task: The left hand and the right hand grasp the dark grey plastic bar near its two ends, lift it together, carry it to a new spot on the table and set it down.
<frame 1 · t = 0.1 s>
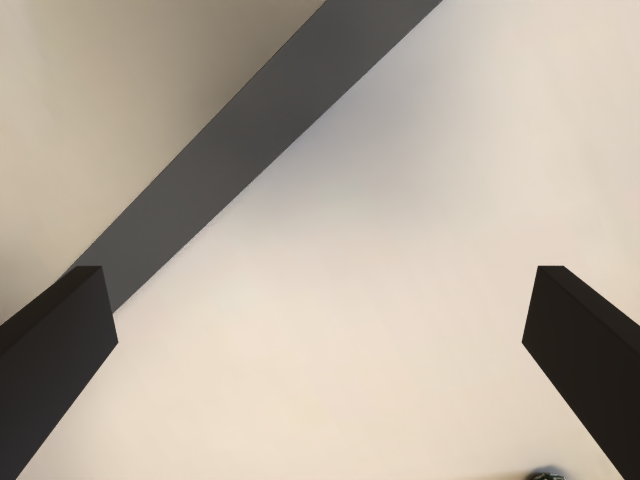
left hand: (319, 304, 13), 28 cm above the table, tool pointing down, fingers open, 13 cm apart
bar: (187, 197, 40), on the table
grenade: (541, 479, 55), on the table
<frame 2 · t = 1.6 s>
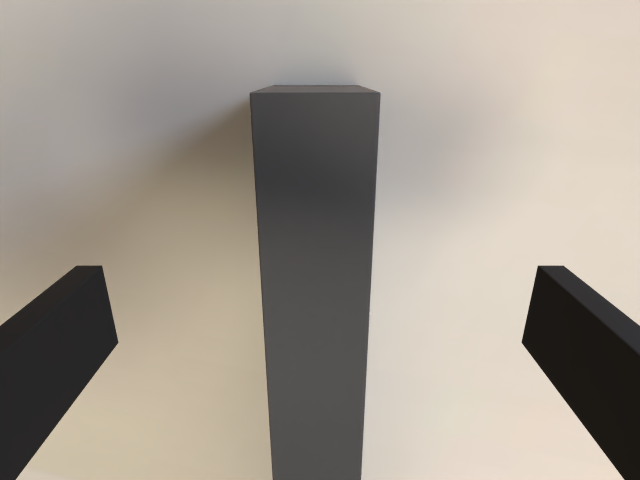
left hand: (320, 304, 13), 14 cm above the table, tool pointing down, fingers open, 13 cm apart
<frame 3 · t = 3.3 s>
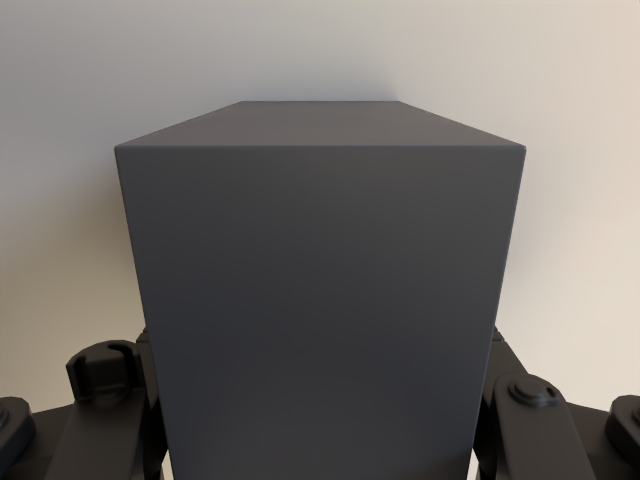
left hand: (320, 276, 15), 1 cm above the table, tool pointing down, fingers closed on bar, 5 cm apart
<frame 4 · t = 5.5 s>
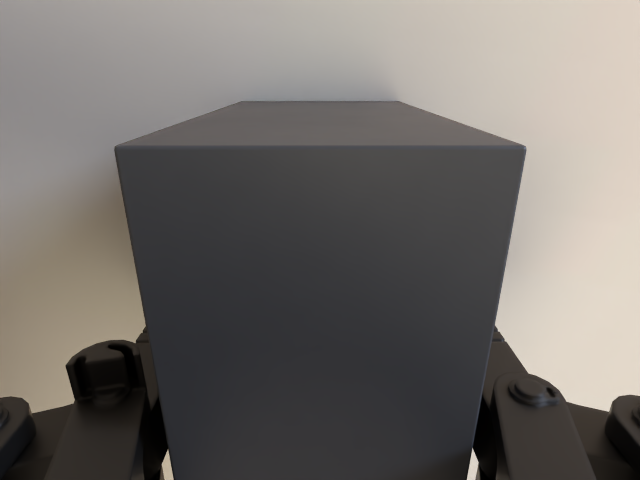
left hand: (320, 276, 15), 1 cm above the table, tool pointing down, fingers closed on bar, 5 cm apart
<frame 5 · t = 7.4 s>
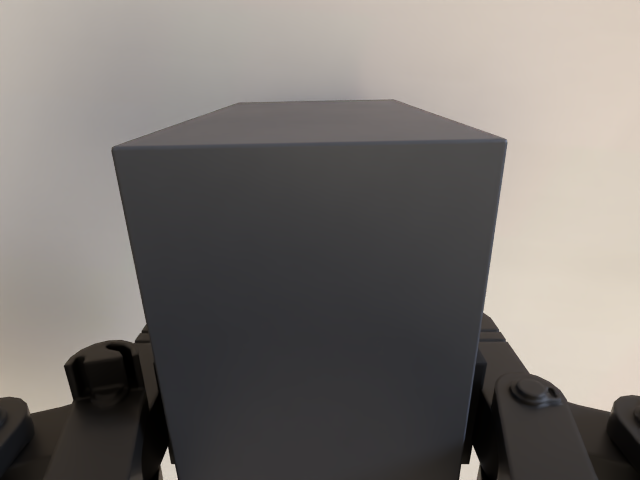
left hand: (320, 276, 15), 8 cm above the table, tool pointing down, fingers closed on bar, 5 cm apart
when the left hand's fingers open (2 cm above the table, at t = 9.1 s): bar drops 1 cm, on the table.
when the right hand's fingers open (6 cm above the table, at t = 9.3 s): bar stays where it is, on the table.
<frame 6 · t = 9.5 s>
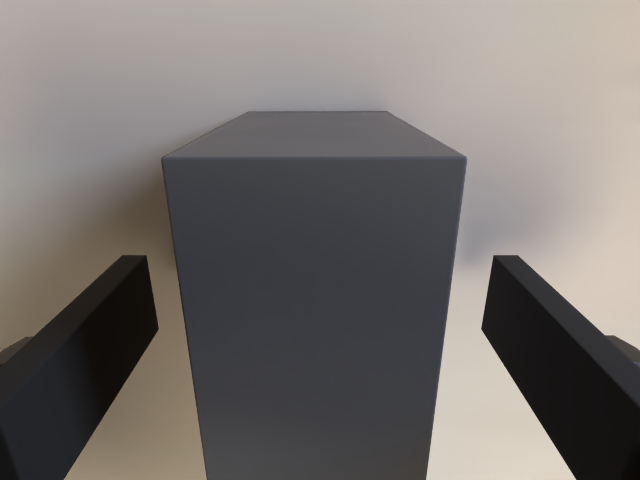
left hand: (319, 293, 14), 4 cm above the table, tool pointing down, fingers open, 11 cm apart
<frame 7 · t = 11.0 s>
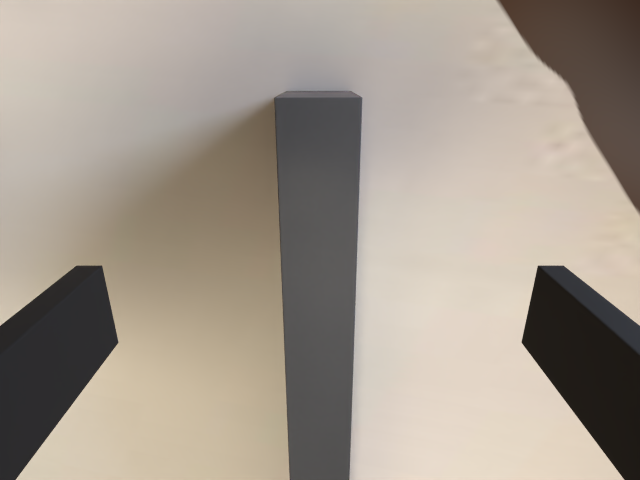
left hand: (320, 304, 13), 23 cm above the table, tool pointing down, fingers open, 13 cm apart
bar: (319, 438, 45), on the table
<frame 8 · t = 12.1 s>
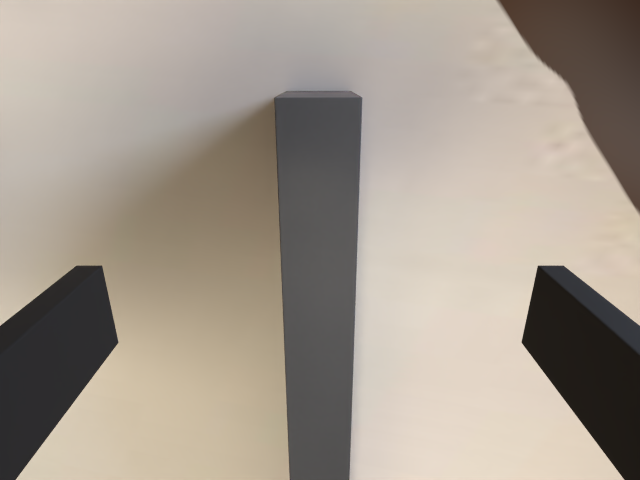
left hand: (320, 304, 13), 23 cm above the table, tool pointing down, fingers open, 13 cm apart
bar: (319, 438, 45), on the table
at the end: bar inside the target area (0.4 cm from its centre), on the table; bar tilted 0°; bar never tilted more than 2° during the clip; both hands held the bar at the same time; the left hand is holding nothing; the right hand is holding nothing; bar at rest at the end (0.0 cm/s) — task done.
